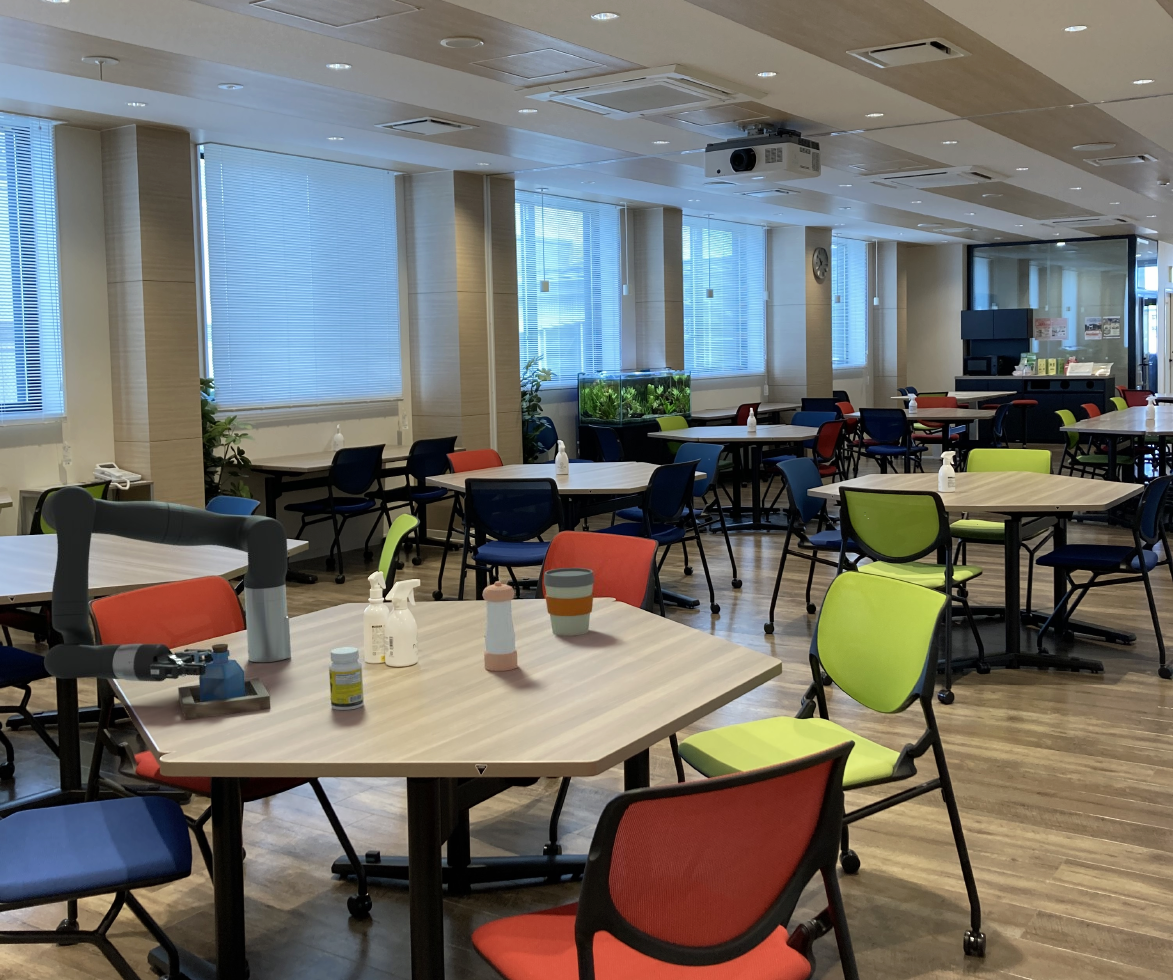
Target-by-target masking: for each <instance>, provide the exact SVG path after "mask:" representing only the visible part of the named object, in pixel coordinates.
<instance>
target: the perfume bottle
mask: <svg viewBox="0 0 1173 980" xmlns="http://www.w3.org/2000/svg"><path fill="white" fill-rule="evenodd" d="M228 647H229V644H227V643H217V644H216V643H215V644H213V645H211V650H212V652H211V656H212V658H213V661H212V662H210V663H207V664H206V665H205V674H204V675H202V676H201V675H198V676H199V677H198V681H199V682H198V683H199V684H198V685H200V699H199V701H200V702H207V701H215V700H223V699H230V698H238V697H246V693H245V680H244V679H245V670H244V669H243V668H242V667H241V665H240V664H239V663H238V662H237V660H236V659H229V657H230V650H229V649H228Z"/></svg>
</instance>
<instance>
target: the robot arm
mask: <svg viewBox="0 0 1173 980" xmlns="http://www.w3.org/2000/svg"><path fill="white" fill-rule="evenodd" d="M41 516H42V520H43V521H44V522H45V524H46V525H47V526H48V527H49V528H51V529H52V530H54V531H55V532H56V540H57V542H56V543H57V554H56V555H57V558H56V566H55V571H54V577H53V583H52V594H51V624H52V628H53V629H54V630H55V631H56V632H58V633H61V636H62V638H63V643H61V644H60V643H59V644H56V645H54V646H53V647H51V648H50V649H49V650H48V651H47V652H46V653H45V656H44V660H43V665H44V668H45V670H46V672H48V674H49V675H51V676H52V677H53V678H57V679H83V678H87V679H88V678H96V679H97V678H98V679H104V680H105V679H107V680H124V681H130V682H131V681H132V682H157V683H158V682H159V683H160V682H163V681H165V680H166V679H167V680H168V679H169V680H170V679H171V680H176V679H179V678H180V677H182V678H183V677H184V678H185V677H186V676H200V675H201V676H202V675H204V674H205V665H206V664H207V663H210V662H212V661H213V658H212V656H211V652H212V651H213V649H212V648H208V649H204V648H203V649H202V648H201V649H200V648H199V649H197V648H196V649H194V648H193V649H192V648H191V649H190V648H189V649H188V648H186V649H184V650H181V651H175V652H174V653H173V652H172V651H171V649H170V647H169V646H168V645H166V644H160V643H130V644H128V643H127V644H102V645H101V644H100V645H96V643H95V640H94V636H93V633H92V628H91V626H90V618H89V616H90V613H89V612H90V611H89V609H90V608H89V607H90V604H89V600H90V599H89V594H90V593H89V568H90V567H89V564H90V563H89V562H90V551H91V550H90V549H91V542H92V534H98V535H99V534H100V535H110V536H117V537H120V538H126V539H131V540H137V541H141V542H148V543H153V544H159V545H160V544H161V545H169V546H176V547H177V546H178V547H199V546H200V547H201V546H217V547H223V548H228V549H232V550H237V551H242V552H245V553H247V571H246V573H245V574H244V576H243V586H244V589H243V591H244V603H245V606H244V607H245V620H246V621H245V622H246V635H247V636H246V638H247V654H248V655H247V656H248V661H250V662H254V663H271V662H273V663H274V662H278V661H284V660H285V659H291V658H292V650H291V633H290V618H289V616H288V605H287V590H286V587H287V586H286V575H287V573H288V540H287V539H288V538H287V533H286V529H285V527H284V526H283V524H282V523H281V522H280V521H278V520H277V519H275V518H273V517H268V516H264V515H257V514H256V515H243V514H242V515H241V514H240V515H239V514H226V513H224V514H223V513H218V512H213V511H209V510H208V509H207V510H206V509H204V508H199V507H195V506H190V505H186V504H181V503H180V504H179V503H174V502H173V503H172V502H167V501H157V500H156V501H154V500H152V501H151V500H134V501H133V500H132V501H112V500H107V499H106V500H105V499H101V498H100V499H99V498H96V497H95V498H94V496H93V495H92V494H91V493H90V491H88V490H87V489H85V488H83V487H81V486H75V485H72V486H71V485H70V486H65V487H62V488H60V489H59V490H57V491H55V492H53V493H52V494H51V495H50V496H48V497H47V498H46V500H45V501H44V502H43V504H42V507H41ZM203 656H204V658H203Z"/></svg>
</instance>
